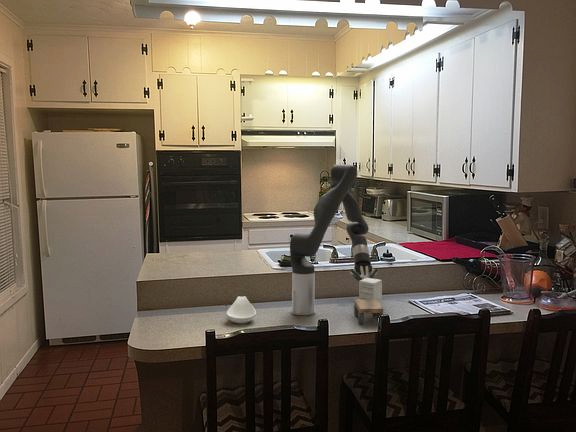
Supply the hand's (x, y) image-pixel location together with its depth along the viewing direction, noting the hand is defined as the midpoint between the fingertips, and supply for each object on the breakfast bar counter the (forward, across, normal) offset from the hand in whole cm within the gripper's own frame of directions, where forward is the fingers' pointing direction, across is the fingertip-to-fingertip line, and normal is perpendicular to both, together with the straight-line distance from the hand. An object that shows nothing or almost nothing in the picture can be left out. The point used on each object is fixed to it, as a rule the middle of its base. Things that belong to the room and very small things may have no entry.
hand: (366, 288), depth 221 cm
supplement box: (+12, 0, -2) cm, 12 cm away
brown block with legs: (+22, -4, -13) cm, 26 cm away
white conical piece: (+18, -55, -8) cm, 58 cm away
